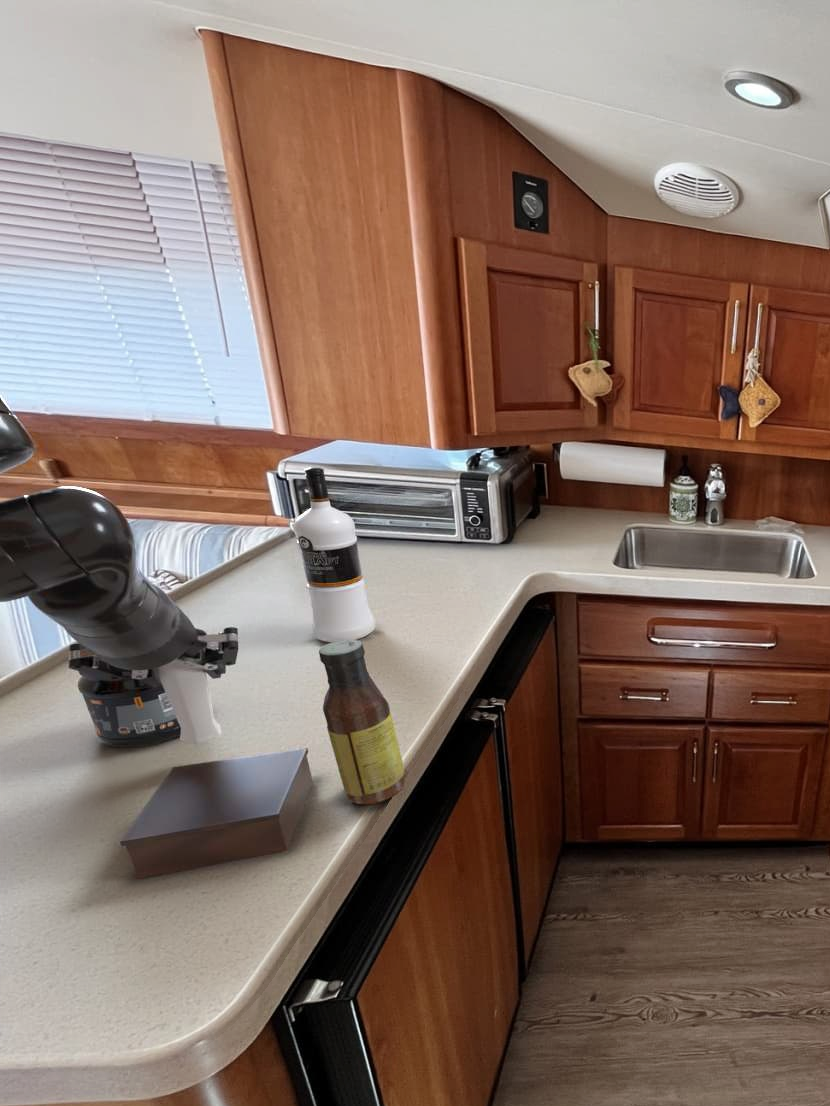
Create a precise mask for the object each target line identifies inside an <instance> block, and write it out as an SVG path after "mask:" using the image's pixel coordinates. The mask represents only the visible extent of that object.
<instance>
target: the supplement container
mask: <svg viewBox="0 0 830 1106" xmlns="http://www.w3.org/2000/svg"><path fill="white" fill-rule="evenodd" d="M78 674H79V675H80V676H81V677H80V678H79V679H78V681H77V687H78V691H79V693H81V695H82V697H83V700H84V702H85V705H86V708H87V710H88V713H89V716H90V718H91V720H92V723H93V725H94V729H95V733H96V736H97V738H98V739H99V740H100V741H101V742H102V743H104V744H105V745H107V746H111V747H117V748H135V747H145V746H149V745H150V746H151V745H155V744H159V743H162V742H166V741H169V740H171V739H175V738H176V737H180V734H181V727H180V725H179V722H178V720H177V718H176V715H175V713H174V711H173V708H172V706H171V704H170V701H169V699H168V697H167V694H166V692H165V690H164V687H163V686H157V687H155V686H154V685H152V684H147V683H144V682H143V681H141V680H140V679H132V678H131V676H130V675H127V676H123V678H122V679H120V680H115V681H113V680H107V679H103V678H100V677H97V676H93V675H90V674H87V673H83V672H80V671H78Z"/></svg>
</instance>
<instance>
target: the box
mask: <svg viewBox="0 0 830 1106" xmlns="http://www.w3.org/2000/svg"><path fill="white" fill-rule="evenodd" d="M308 753H309V748H308V747H303V748H296V749H288V750H281V751H276V752H267V753H260V754H256V755H248V756H241V757H234V758H233V757H232V758H226V759H220V760H213V761H205V762H200V763H199V762H198V763H191V764H185V765H177V766H173V767H172V768H171V769H170V771H169V772H168V774H167V775H166V777H164V779H163V781H162V782H161V784H160V785H159V786H158V788H157V789H156V790H155V792H154V793H153V794H152V795H151V797H150V799H149V800H148V802H147V803H146V804H145V806H144V807H143V808H142V809H141V811H140V812H139V814H138V815H137V816H136V818H135V820H134V821H133V822H132V823H131V825H130V827H129V828H128V829H127V831H126V832H125V834H124V835H123V836H122V837H121V839H120V840H119V845H120V847H125V848H126V851H127V853H128V855H129V859H130V862H131V864H132V867H133V869H134V871H135V874H136V876H137V878H138V880H141V879H142V880H143V879H146V878H147V879H148V878H151V877H158V876H162V875H167V874H172V873H173V874H174V873H177V872H182V871H187V870H193V869H198V868H202V867H203V868H204V867H207V866H213V865H219V864H224V863H228V862H233V861H238V860H244V859H248V858H254V857H259V856H265V855H269V854H275V853H279V852H284V851H287V850H288V849H289V846H290V844H291V841H292V838H293V836H294V833H295V831H296V828H297V826H298V823H299V821H300V818H301V815H302V813H303V810H304V808H305V805H306V802H307V800H308V797H309V795H310V792H311V790H312V787H313V784H314V779H313V776H312V772H311V768H310V763H309V760H308V759H309V758H308Z"/></svg>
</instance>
